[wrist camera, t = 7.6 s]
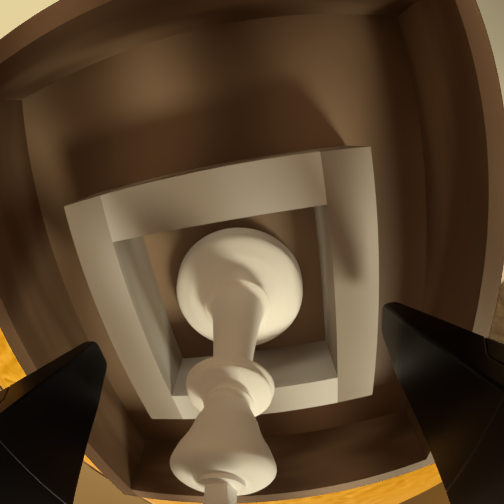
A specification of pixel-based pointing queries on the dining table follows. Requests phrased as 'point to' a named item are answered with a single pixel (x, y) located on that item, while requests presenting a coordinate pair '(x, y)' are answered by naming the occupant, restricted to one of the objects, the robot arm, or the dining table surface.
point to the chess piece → (233, 357)
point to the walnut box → (249, 210)
